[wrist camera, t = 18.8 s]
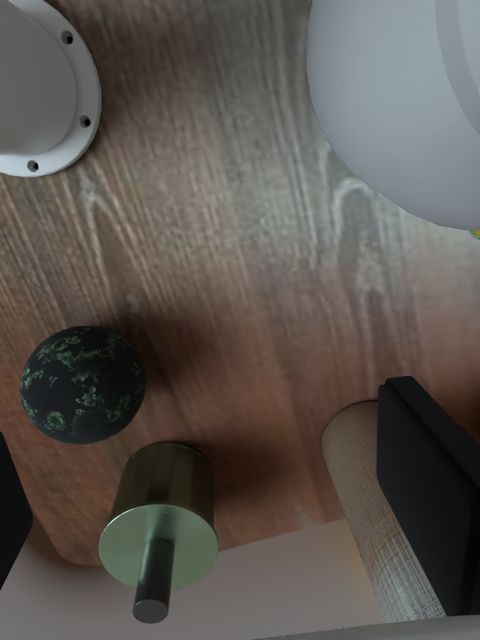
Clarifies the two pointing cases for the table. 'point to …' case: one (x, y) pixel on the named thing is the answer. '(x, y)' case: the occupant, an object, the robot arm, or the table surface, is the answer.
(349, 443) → the planter
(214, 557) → the lid
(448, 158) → the vase
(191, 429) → the table surface
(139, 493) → the pot
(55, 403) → the decorative stone
